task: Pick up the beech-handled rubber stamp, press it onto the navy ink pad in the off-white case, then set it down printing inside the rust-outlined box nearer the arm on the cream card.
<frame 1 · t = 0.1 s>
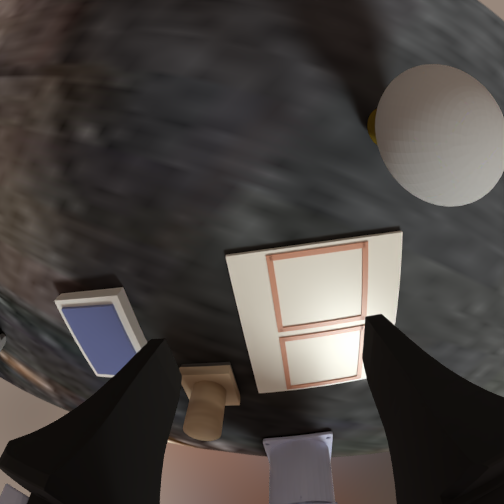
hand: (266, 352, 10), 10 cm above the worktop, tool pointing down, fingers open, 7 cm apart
light bulb: (381, 126, 16), on the worktop
card sheet: (322, 326, 22), on the worktop
stamp: (211, 379, 25), on the worktop
ink pad: (109, 333, 23), on the worktop
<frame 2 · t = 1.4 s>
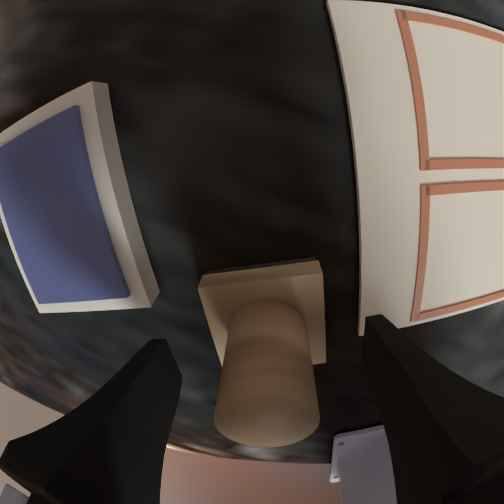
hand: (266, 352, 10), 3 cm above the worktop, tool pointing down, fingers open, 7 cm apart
card sheet: (478, 173, 10), on the worktop
stamp: (267, 308, 13), on the worktop
ink pad: (65, 209, 11), on the worktop
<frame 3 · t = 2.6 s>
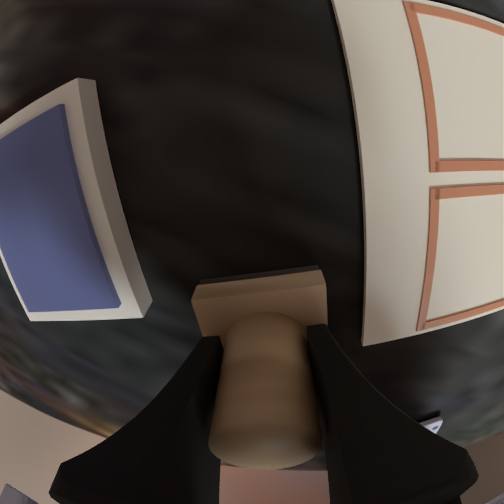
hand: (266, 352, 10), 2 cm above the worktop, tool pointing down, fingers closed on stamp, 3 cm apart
card sheet: (488, 175, 9), on the worktop
stamp: (266, 319, 12), on the worktop, touching gripper
ink pad: (53, 213, 10), on the worktop
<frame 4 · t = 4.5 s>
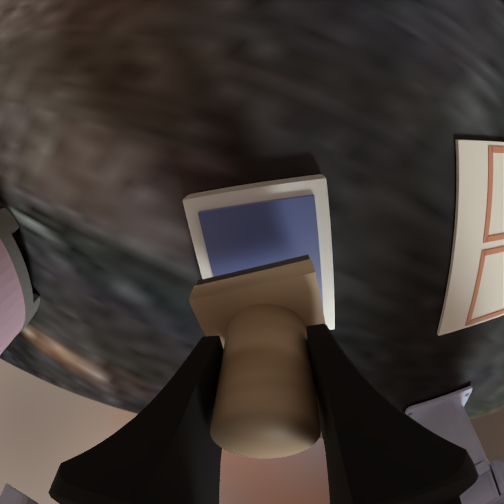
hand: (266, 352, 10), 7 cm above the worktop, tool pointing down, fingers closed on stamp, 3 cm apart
blender: (5, 258, 18), on the worktop
stamp: (266, 313, 12), point 5 cm above the worktop, touching gripper
ink pad: (267, 261, 17), on the worktop
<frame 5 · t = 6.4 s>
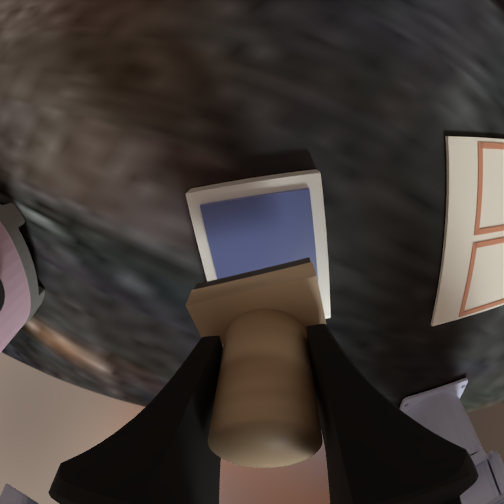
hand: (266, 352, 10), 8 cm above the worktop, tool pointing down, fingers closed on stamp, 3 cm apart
blender: (10, 253, 19), on the worktop
card sheet: (501, 232, 16), on the worktop
stamp: (266, 317, 12), point 6 cm above the worktop, touching gripper
ink pad: (265, 252, 18), on the worktop
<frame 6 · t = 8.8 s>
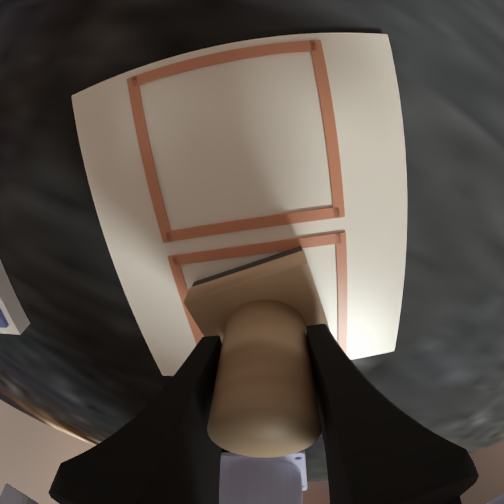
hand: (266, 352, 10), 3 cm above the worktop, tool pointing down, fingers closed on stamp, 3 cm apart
card sheet: (253, 233, 11), on the worktop
stamp: (265, 309, 12), resting on card sheet, touching gripper
when the fingers open (2 cm above the worktop, at t = 10.2 s): stamp stays where it is, resting on card sheet.
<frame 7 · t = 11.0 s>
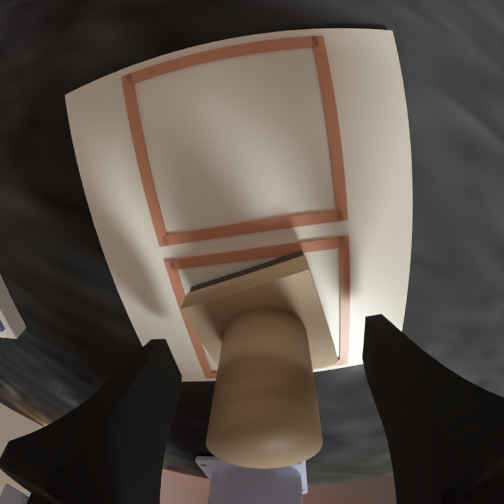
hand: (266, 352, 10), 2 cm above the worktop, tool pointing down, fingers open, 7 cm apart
card sheet: (252, 237, 11), on the worktop
stamp: (265, 315, 12), resting on card sheet
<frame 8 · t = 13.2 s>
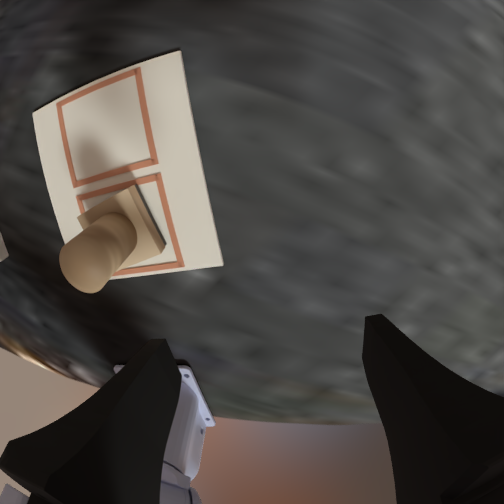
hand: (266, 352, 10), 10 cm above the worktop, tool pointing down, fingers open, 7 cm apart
card sheet: (115, 179, 18), on the worktop
stamp: (125, 226, 19), resting on card sheet
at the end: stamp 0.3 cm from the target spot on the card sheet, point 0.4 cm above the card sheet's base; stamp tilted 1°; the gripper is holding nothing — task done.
